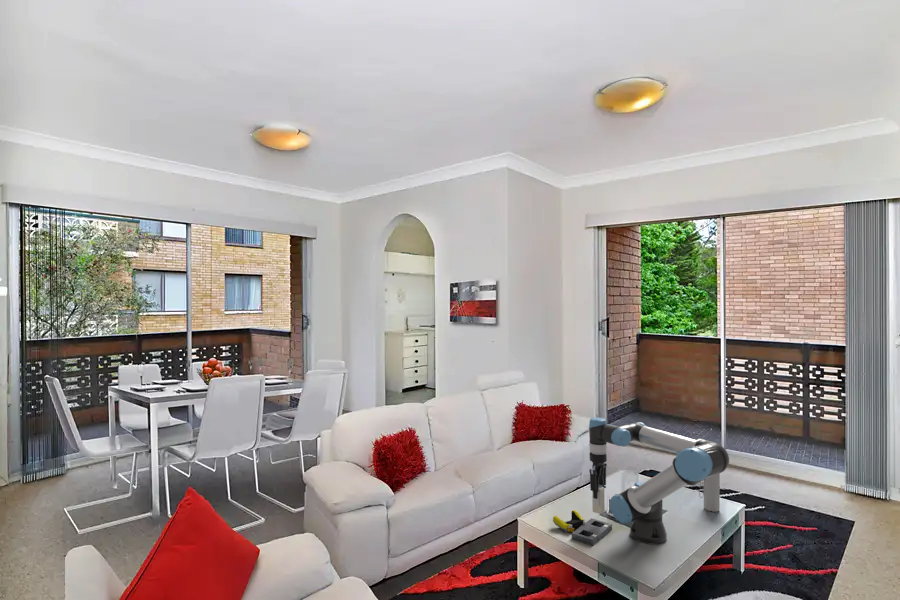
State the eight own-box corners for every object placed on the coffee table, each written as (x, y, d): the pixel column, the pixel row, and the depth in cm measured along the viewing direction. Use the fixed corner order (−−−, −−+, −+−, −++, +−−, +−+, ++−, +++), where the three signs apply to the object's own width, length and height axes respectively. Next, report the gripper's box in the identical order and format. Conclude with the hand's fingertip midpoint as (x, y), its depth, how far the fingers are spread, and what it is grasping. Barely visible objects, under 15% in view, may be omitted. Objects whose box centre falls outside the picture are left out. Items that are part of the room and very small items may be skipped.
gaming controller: (550, 527, 242) (566, 535, 234) (550, 515, 242) (566, 523, 234) (574, 520, 250) (590, 527, 241) (574, 508, 250) (590, 516, 241)
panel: (612, 529, 239) (612, 523, 239) (592, 545, 224) (592, 539, 224) (591, 523, 246) (591, 517, 246) (571, 538, 230) (571, 532, 230)
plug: (604, 511, 239) (604, 485, 239) (600, 514, 236) (600, 488, 236) (596, 509, 242) (596, 483, 242) (592, 511, 239) (592, 486, 239)
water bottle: (720, 508, 262) (720, 458, 262) (718, 513, 256) (719, 462, 256) (700, 504, 267) (700, 455, 267) (698, 509, 261) (698, 459, 260)
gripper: (598, 446, 248) (598, 496, 248) (581, 455, 235) (582, 507, 235) (613, 449, 243) (614, 499, 243) (597, 458, 230) (598, 511, 230)
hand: (598, 503), depth 239 cm, fingers closed on plug, 4 cm apart
